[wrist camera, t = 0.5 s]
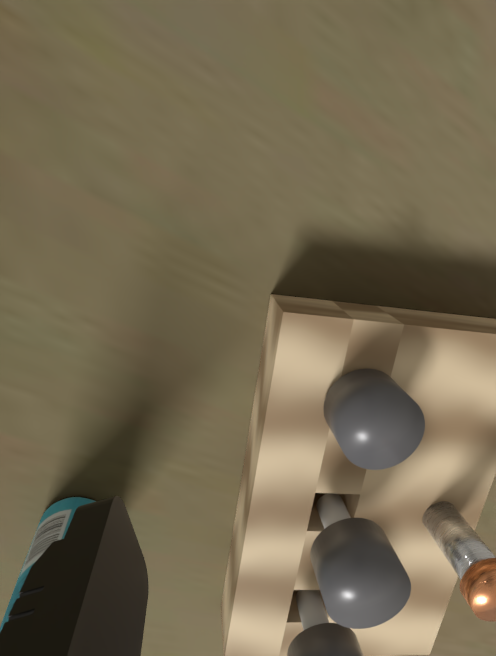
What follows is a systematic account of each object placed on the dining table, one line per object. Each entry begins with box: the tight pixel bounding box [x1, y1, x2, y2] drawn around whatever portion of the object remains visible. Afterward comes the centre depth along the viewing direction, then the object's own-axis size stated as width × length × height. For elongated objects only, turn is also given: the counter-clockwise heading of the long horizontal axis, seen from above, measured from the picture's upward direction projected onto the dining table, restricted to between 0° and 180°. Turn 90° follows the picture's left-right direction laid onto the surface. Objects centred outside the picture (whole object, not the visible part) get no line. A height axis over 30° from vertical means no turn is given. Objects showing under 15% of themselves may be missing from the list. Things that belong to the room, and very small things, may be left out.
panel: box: [221, 294, 496, 656], centre depth 30 cm, size 26×16×4 cm, turn 172°
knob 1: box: [287, 590, 363, 656], centre depth 28 cm, size 5×5×7 cm
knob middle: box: [310, 493, 411, 629], centre depth 26 cm, size 5×5×7 cm
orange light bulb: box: [422, 501, 496, 621], centre depth 26 cm, size 3×3×6 cm
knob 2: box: [323, 368, 425, 470], centre depth 26 cm, size 5×5×7 cm
